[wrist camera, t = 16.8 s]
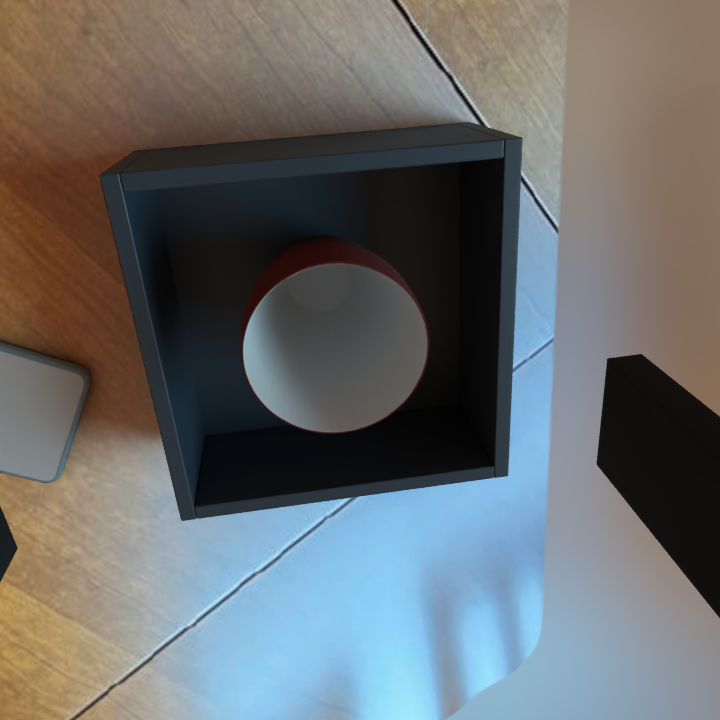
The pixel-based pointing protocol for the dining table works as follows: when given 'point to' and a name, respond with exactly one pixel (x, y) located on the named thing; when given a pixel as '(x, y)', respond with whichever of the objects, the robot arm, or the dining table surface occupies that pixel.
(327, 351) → the mug
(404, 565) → the dining table surface
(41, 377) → the smartphone
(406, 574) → the dining table surface
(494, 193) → the bin
